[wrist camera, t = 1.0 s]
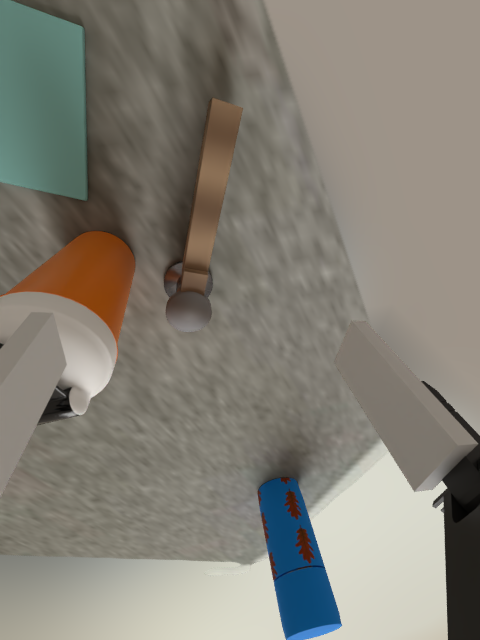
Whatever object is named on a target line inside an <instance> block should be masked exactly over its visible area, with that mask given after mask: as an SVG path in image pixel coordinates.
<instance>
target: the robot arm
mask: <svg viewBox="0 0 480 640" xmlns="http://www.w3.org/2000/svg"><path fill="white" fill-rule="evenodd" d="M334 364H335V365H336V367H337V369H338V370H339V372H340V373H341V375H342V377H343V378H344V380H345V381H346V383H347V385H348V386H349V388H350V389H351V391H352V393H353V394H354V396H355V397H356V399H357V401H358V402H359V404H360V405H361V407H362V409H363V410H364V412H365V413H366V415H367V417H368V418H369V420H370V421H371V423H372V425H373V426H374V428H375V429H376V431H377V433H378V434H379V436H380V437H381V439H382V441H383V442H384V444H385V445H386V447H387V449H388V450H389V452H390V453H391V455H392V456H393V458H394V460H395V461H396V463H397V465H398V466H399V468H400V469H401V471H402V473H403V474H404V476H405V477H406V479H407V481H408V482H409V484H410V485H411V487H412V489H413V490H414V492H416V491H424V490H433V489H434V487H436V486H437V485H438V484H439V483H440V482H441V481H443V482H444V483H445V485H446V486H447V489H446V490H445V491H444V492H443V493H442V494H441V495H440V496H439V497H438V498H437V499H436V500H435V501H434V502H433V507H435V508H437V507H438V506H439V505H440V504H441V503H442V502H444V507H443V508H442V509H441V511H442V512H443V513H444V524H445V525H444V528H445V556H446V557H445V559H446V589H447V622H448V640H480V436H479V435H478V434H477V433H476V431H475V430H474V429H473V428H472V427H471V426H470V425H469V424H468V423H467V422H466V421H465V420H464V419H463V418H462V417H461V416H460V415H459V414H458V413H457V412H455V409H454V408H453V407H452V406H451V405H450V404H449V403H447V402H446V400H445V399H444V398H443V397H442V396H441V395H440V393H439V392H438V391H437V390H435V389H434V388H432V387H431V386H430V385H428V384H427V383H426V382H424V381H420V380H419V379H418V378H417V377H416V375H415V374H414V373H413V372H412V371H411V370H410V369H409V368H408V367H407V366H406V365H405V363H403V361H402V360H401V359H400V358H399V357H398V356H397V355H396V354H395V353H394V352H393V350H392V349H391V348H390V347H389V346H388V345H387V344H386V343H385V342H384V341H383V340H382V339H381V337H380V336H379V335H378V334H377V333H376V332H375V331H374V330H373V329H372V328H371V327H370V325H369V324H368V323H367V322H366V321H351V323H350V325H349V328H348V330H347V333H346V335H345V337H344V340H343V342H342V345H341V347H340V349H339V352H338V354H337V356H336V359H335V361H334ZM66 366H67V363H66V359H65V355H64V351H63V348H62V344H61V340H60V336H59V333H58V329H57V325H56V322H55V318H54V314H53V313H46V312H31V313H30V314H29V315H28V317H27V318H26V319H25V320H24V321H23V323H22V324H21V325H20V326H19V327H18V329H17V330H16V331H15V332H14V333H13V335H12V336H11V337H10V338H9V339H8V340H7V342H6V343H5V344H4V345H3V346H2V348H1V349H0V497H1V495H2V493H3V491H4V489H5V487H6V485H7V483H8V481H9V479H10V477H11V475H12V473H13V471H14V469H15V467H16V465H17V463H18V461H19V459H20V457H21V455H22V453H23V451H24V449H25V447H26V445H27V443H28V441H29V439H30V437H31V435H32V433H33V431H34V429H35V427H36V425H37V423H38V421H39V419H40V417H41V415H42V413H43V411H44V409H45V407H46V405H47V403H48V401H49V399H50V397H51V395H52V393H53V391H54V389H55V388H56V386H57V384H58V382H59V380H60V378H61V376H62V374H63V372H64V370H65V368H66Z"/></svg>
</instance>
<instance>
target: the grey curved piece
mask: <svg viewBox="0 0 480 640" xmlns="http://www.w3.org/2000/svg"><path fill="white" fill-rule="evenodd" d="M182 264H183V261H180V262H178V263H175V264H174V265H172V266H171V267H170V268H169V269H168V271H167V272H166V275H165V279H164V288H165V291H166V293H167V295H168V296H169V297H171V296H172V295H173V294H174V293H176V292H178V291H180V289H181V279H182ZM212 286H213V283H212V277H211V274H210V272H209V271H208V279H207V283H206V288H205V292H204V295H205V296H206V297H208V296H209V295H210V293H211V291H212Z"/></svg>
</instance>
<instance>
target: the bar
mask: <svg viewBox="0 0 480 640" xmlns="http://www.w3.org/2000/svg"><path fill="white" fill-rule="evenodd" d="M242 111H243V108H241V107H238V106H235V105H233V104H230V103H227V102H224V101H221V100H218V99H215V98H212V99H211V100H210V101H209V104H208V110H207V116H206V123H205V129H204V135H203V141H202V147H201V153H200V159H199V166H198V172H197V178H196V184H195V190H194V196H193V203H192V209H191V215H190V221H189V227H188V233H187V239H186V246H185V252H184V258H183V264H182V279H181V289H180V291H178V292H176V293H174V294H173V295H172V296H171V297H170V298H169V300H168V302H167V305H166V318H167V320H168V322H169V323H170V324H171V325H172V326H173V327H174V328H176V329H177V330H180V331H184V332H193V331H197V330H200V329H202V328H203V327H205V326H206V325H207V324H208V323H209V321H210V319H211V315H212V311H211V304H210V301H209V299H208V298H207V297H206V296H205V295H204V292H205V288H206V283H207V279H208V268H209V264H210V259H211V255H212V250H213V245H214V241H215V236H216V231H217V227H218V222H219V217H220V213H221V208H222V204H223V199H224V194H225V190H226V185H227V180H228V176H229V171H230V166H231V162H232V157H233V153H234V148H235V143H236V139H237V134H238V129H239V125H240V120H241V115H242Z"/></svg>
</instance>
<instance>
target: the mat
mask: <svg viewBox="0 0 480 640" xmlns="http://www.w3.org/2000/svg"><path fill="white" fill-rule="evenodd" d="M0 182H3V183H7V184H12V185H16V186H21V187H26V188H30V189H35V190H39V191H44V192H48V193H53V194H57V195H62V196H67V197H71V198H76V199H80V200H85V201H87V200H88V175H87V128H86V81H85V34H84V28H83V27H82V26H79V25H76V24H74V23H71V22H68V21H66V20H63V19H60V18H57V17H55V16H52V15H49V14H47V13H44V12H41V11H38V10H36V9H33V8H30V7H28V6H25V5H22V4H19V3H17V2H14V1H11V0H0Z"/></svg>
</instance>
